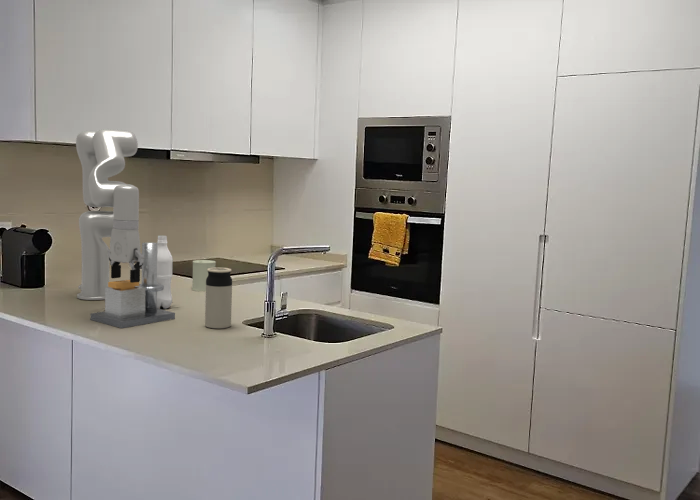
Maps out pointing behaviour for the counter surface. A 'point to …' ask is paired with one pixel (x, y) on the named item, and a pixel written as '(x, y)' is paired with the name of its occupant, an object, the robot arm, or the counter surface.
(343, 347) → the counter surface
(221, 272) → the travel mug
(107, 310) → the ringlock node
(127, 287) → the orange upright block
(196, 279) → the can
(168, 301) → the water bottle
